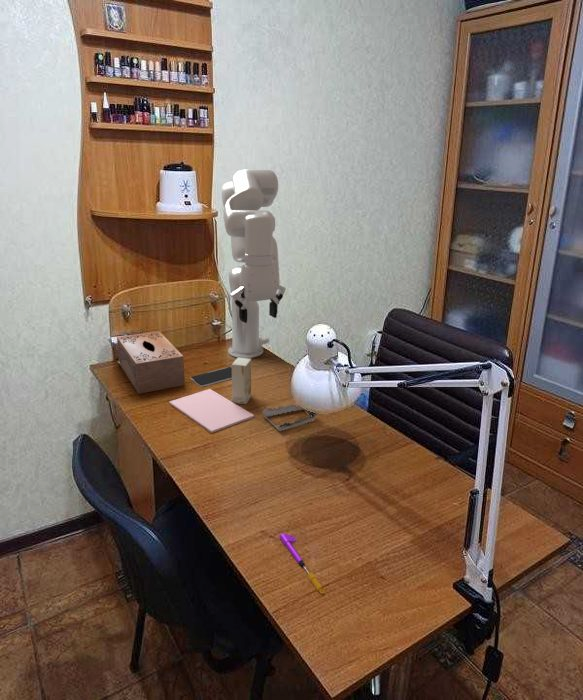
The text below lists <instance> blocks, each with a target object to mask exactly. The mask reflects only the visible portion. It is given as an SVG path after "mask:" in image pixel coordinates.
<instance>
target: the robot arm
mask: <svg viewBox="0 0 583 700" xmlns="http://www.w3.org/2000/svg"><path fill="white" fill-rule="evenodd" d="M278 192H279V180H278V177H277V174H276V173H275V172H274V171H273V170H271V169H256V168H255V169H252V168H251V169H241V170H238V171H236V172H235V174H234V175H233V177H232V181H228V182H225V183H224V184H223V185H222V187H221V200H222V206H223V223H224V228H225V232H226V234H227V235H228V236H230V245H231V246H230V247H231V255H232V258H233V261H235V262H237V263H241V264H242V263H243V264H242V265H240V266H235V267H233V268H232V269H231V270H230V271H229V273H228V282H229V289H230V295H229V296H230V298H231V327H232V328H231V330H232V335H231V338H232V339H231V340H232V345H230V346H229V348H228V349H227V350H228V351H227V352H228V355H230V356H231V357H233V358H234V357H235V358H236V359H237V358H247V359H253V358H256V357H257V358H258V357H259V356H261V355H262V354H263V353H264V348H263V347H262V346H264V345H266V344H269V343H270V339H269V338H268V337H265V338H262V337H260V306H259V303H258V302H261V301H268V300H270V301H269V305H268V307H269V311H268V312H269V313H268V315H269V316H271V317H272V318H274V319H276V318H278V317H277V315H278V305H279V304H280V302H281V300H282V299H283V297H284V294H285V291H286V287H285V286H282V285H280V283H281V282H280V279H281V278H280V266H279V264H280V263H279V252H278V250H279V249H278V244H277V240H276V238H275V237H274V236H273V234H274V232H275V229H276V218H275V216H274V215H273V213H272V212H271V211H269V210H265V209H264V210H262V209H261V208H268V207H270V206H272V204H273V203H274V201H275V199H276V197H277V195H278ZM260 209H261V210H260ZM277 292H278V293H277Z"/></svg>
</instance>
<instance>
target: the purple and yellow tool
mask: <svg viewBox="0 0 583 700" xmlns="http://www.w3.org/2000/svg"><path fill="white" fill-rule="evenodd" d="M279 539H280V540H281V542H282V543H283V545H284V546H285V547H286V548H287V549H288V550H289V552H290V553H291V555H292V557H293V558H294V559H295V561H296V562H297V564H298V565H300V567H301V568H304V570H305V572H306V573H307V579H308V580H309V581H310V583H312V585H313V586H314V588H315V589H316V591H318V592H319V593H320V594H321V595H323V594H324V595H325V593H326V592H325V590H324V589H323V586H322V585H321V583H320V582H319V581H318V580H317V577H316V575H314V573H313V572H310V571H308V569H307V568H306V563H305V562H304V560H303V558H302V557H301V556H300V554H299V553H298V551H297V550H296V548H295V547H294V546H293V544H292V543H295V542H297V539H296V538H295V536H294V535H293V534H290V535H289V534H287V533H280V535H279Z"/></svg>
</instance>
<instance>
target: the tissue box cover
mask: <svg viewBox="0 0 583 700" xmlns="http://www.w3.org/2000/svg"><path fill="white" fill-rule="evenodd" d="M116 343H117V353H118V363H119V365H120V367H121V369H122V370H123V371H124V374H125V375H126V376H127V378H128V380H129V381H130V383H131V385H132V386H133V388H134V389H135V390H136V392H137V393H138V394H139V395H140V394H143V393H144V394H145V393H150V392H155V391H160V390H165V389H171V388H176V387H182V386H185V385H186V383H185V382H186V380H185V362H184V361H185V360H184V359H185V358H184V355H183V354H182V353H181V352H180V350H178V349H177V348H176V346H174V344H173V343H172V342H171V341H170V340H169V339H168V338H166V336H165V335H164V334H163V333H162V332H161V331H160V330H159V331H152V332H145V333H137V334H130V335H123V336H117V337H116Z"/></svg>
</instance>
